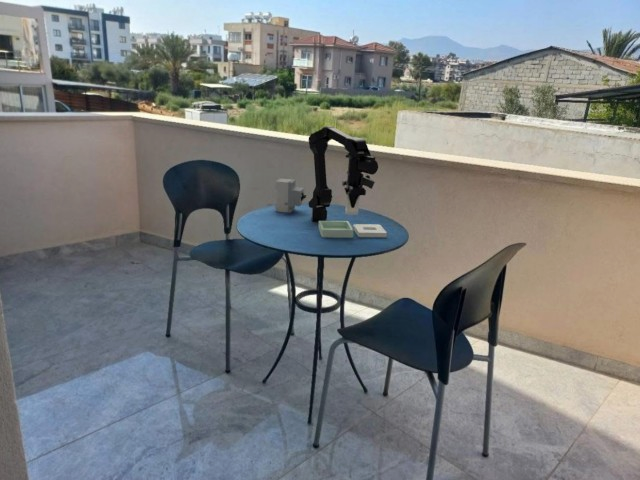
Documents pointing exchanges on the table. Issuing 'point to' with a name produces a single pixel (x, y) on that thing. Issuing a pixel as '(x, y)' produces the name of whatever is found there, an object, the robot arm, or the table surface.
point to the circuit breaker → (288, 195)
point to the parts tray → (335, 229)
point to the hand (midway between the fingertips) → (351, 206)
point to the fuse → (349, 209)
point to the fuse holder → (369, 230)
